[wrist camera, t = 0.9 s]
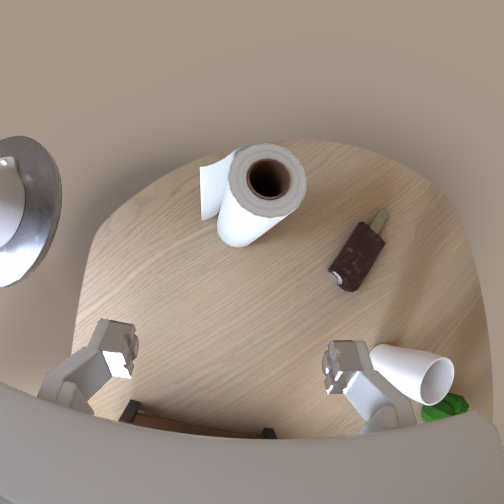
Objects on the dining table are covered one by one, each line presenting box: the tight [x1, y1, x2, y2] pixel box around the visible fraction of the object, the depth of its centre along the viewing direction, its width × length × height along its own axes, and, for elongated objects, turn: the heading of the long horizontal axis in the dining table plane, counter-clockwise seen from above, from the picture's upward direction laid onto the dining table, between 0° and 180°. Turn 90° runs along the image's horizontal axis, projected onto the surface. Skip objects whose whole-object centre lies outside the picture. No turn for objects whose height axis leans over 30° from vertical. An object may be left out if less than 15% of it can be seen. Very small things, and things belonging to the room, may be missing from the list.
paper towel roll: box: [200, 143, 307, 248], centre depth 32 cm, size 7×6×21 cm
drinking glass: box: [369, 344, 454, 405], centre depth 37 cm, size 7×7×15 cm
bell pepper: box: [422, 393, 469, 423], centre depth 41 cm, size 8×8×10 cm
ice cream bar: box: [329, 208, 388, 292], centre depth 45 cm, size 5×2×15 cm
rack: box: [118, 400, 278, 439], centre depth 33 cm, size 22×16×12 cm
